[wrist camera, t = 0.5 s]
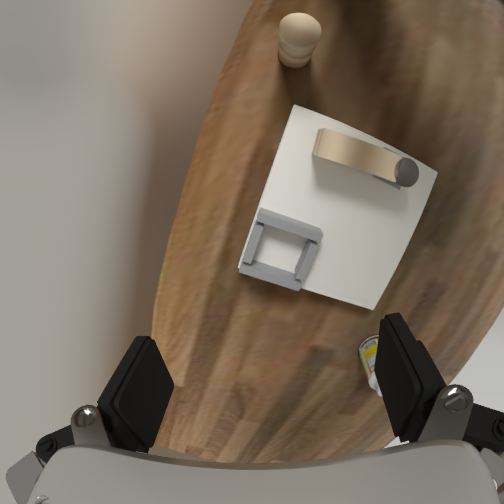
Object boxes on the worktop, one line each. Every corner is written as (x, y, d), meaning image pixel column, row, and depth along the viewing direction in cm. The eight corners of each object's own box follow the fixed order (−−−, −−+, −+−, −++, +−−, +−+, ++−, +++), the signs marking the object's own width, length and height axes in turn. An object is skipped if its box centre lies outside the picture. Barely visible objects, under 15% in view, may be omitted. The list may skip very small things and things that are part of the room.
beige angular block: (407, 160, 29) (422, 164, 25) (399, 185, 30) (414, 191, 27) (318, 128, 29) (324, 126, 25) (311, 155, 30) (316, 157, 26)
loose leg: (283, 37, 27) (286, 8, 19) (314, 47, 28) (326, 20, 19) (273, 62, 29) (273, 38, 21) (304, 72, 29) (314, 51, 21)
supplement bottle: (379, 359, 44) (395, 401, 35) (352, 356, 44) (365, 400, 35) (393, 335, 42) (413, 376, 33) (366, 331, 42) (383, 375, 33)
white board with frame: (292, 107, 31) (296, 101, 26) (426, 169, 32) (447, 175, 27) (240, 258, 39) (235, 276, 34) (367, 299, 40) (378, 320, 35)
